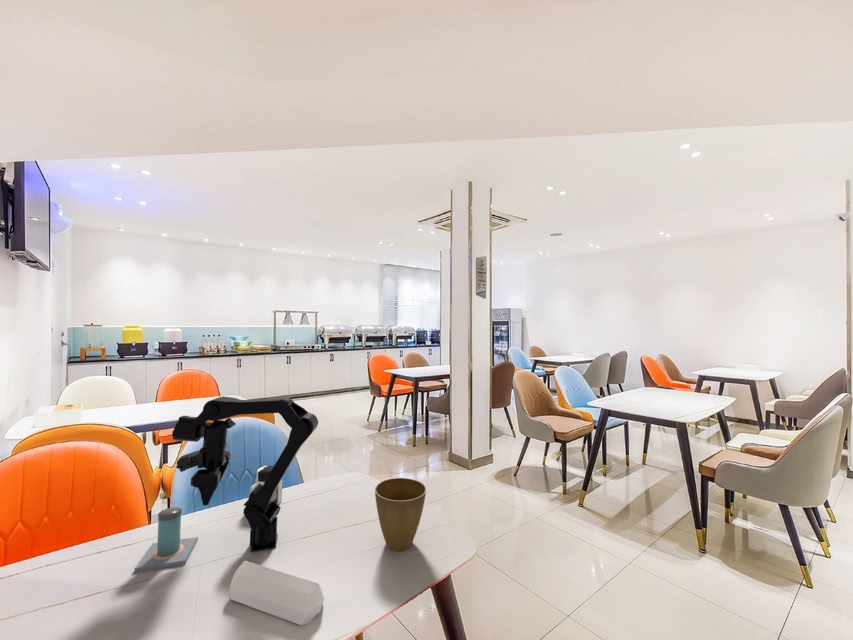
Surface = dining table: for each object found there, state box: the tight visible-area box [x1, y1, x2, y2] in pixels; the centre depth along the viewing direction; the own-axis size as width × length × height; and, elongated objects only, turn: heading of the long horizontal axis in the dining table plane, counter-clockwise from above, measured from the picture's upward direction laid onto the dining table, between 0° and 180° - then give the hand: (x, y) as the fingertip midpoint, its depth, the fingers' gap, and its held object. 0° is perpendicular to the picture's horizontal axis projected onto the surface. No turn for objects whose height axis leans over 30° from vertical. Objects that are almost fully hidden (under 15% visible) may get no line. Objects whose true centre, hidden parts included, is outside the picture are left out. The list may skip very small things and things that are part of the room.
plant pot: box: [374, 477, 427, 552], centre depth 105 cm, size 15×15×16 cm
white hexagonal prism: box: [229, 560, 326, 626], centre depth 82 cm, size 7×7×24 cm
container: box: [249, 465, 283, 505], centre depth 126 cm, size 8×8×13 cm
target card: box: [134, 536, 199, 573], centre depth 98 cm, size 11×11×1 cm
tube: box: [157, 506, 183, 557], centre depth 98 cm, size 5×5×10 cm
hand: (209, 497), depth 103 cm, fingers open, 9 cm apart
